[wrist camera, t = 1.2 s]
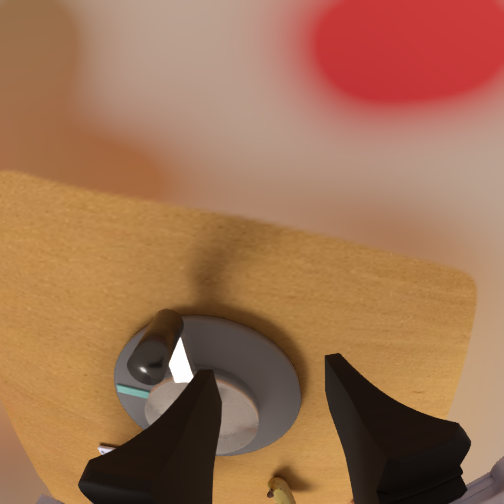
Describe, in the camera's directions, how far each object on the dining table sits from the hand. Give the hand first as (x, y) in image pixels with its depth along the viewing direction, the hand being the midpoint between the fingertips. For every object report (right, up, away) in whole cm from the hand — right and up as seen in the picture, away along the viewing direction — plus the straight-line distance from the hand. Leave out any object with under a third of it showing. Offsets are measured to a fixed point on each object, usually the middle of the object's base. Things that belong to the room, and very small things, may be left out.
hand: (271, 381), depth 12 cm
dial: (-5, -5, +10) cm, 12 cm away
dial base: (-5, -7, +12) cm, 14 cm away
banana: (+3, -23, +17) cm, 29 cm away
